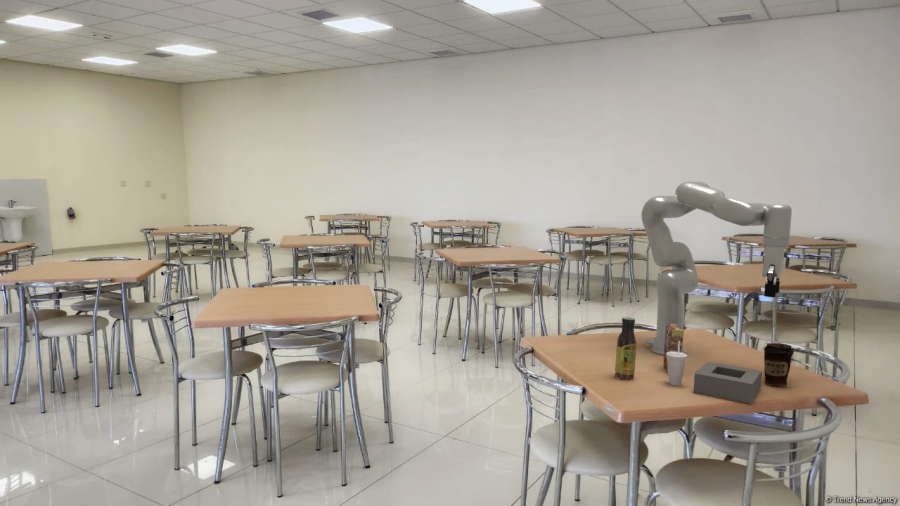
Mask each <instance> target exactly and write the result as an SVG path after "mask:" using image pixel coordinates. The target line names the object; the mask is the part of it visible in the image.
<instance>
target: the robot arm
mask: <svg viewBox="0 0 900 506" xmlns="http://www.w3.org/2000/svg"><path fill="white" fill-rule="evenodd" d="M792 209H793V208H792V207H791V206H790V205H787V204H766V203H762V202H747V203H746V202H742V201H738V200H734V199H732V198H730V197H729V198H728V197H726V194H725V193H724V191H722V190H719V189H717V188H713V187H711V186H710V185H709V184H707V183H706V182H702V181H684V182H682V183H680V184H679V185H678V186H677V187H676V189H675V195H657V196H653V197H651V198H649V199H648V200H647V201H646V202H645V203H644V204H643V207H642V210H641V222H642V226H643V228H644V231H645V233H646V237H647V241H648V243H649V245H648V246H649V248H650V252H651V255H652V258H653V262H654V263H655V265H656V266H658V267H659V268H671V269H670V270H665V271H662V273H660V274H659V275H658V277H657V279H656V280H655V281H656V283H655V285H656V286H655V287H656V293H657V294H656V295H657V315H656V316H657V317H656V334H655V335H656V336H655V338H651V337H645V339H644V342H645V343H646V344H648V345H652V346H651V347H650V348H651V349H650V350H651V352H653V353H654V354H657V355H660V356H661V355H662V356H664V345H665V331H666V324H675V325H678V326H679V327H680V328H681V329H683V330H684V323H685V321H684V319H685V301H684V298H683V296H682V295H684V294H690V293H693V292H694V291H695V290H697V288H698V286H699V276H698V272H697V268H696V265H695V262H694V258H693V255H692V252H691V250H690V248H689V247H688V245H686V244H685V243H683V242H680V241H674V240H673V237H672V233H671V230H670V228H669V226H668V225H667V223H666V222H665V219H675V218H676V219H677V218H680V217H683V216H685V215H687V214H689V213H691V212H693V211H695V210H699V211H703V212H705V213H709V214H711V215H713V216H714V217H716V218H718V219H720V220H722V221H725V222H728V223H731V224H734V225H737V226H741V227H751V226H753V227H755V226H756V227H757V226H758V227H759V226H763V234H762V247H763V248H765V251H764V256H763V264H762V265H763V266H762V273H761V277H762V278H765V277H766V278H765V279H766V280H765V284H764V295H763V296H764V297H766V298H767V297H768V298H776V295H777V294H779V293H780V283H781V281H780V279H781V278H780V277H781V276H782V273H783V269H784V268H783V266H784V258H785V249H789V248H790V237H791V236H790V234H791V225H792V224H791V223H792V211H793V210H792ZM682 353H684V354H686V355H687V350H686V349H685V348H683V347H682Z"/></svg>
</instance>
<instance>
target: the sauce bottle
mask: <svg viewBox="0 0 900 506" xmlns="http://www.w3.org/2000/svg"><path fill="white" fill-rule="evenodd" d="M621 323H622V325H621V326H622V327H621V332H620V333H619V335H618V336H617V342H616V343H617V344H616V352H615V354H616V355H615V366H614V371H615V373H614V376H615V377H616V378H618V379H621V380H632V379H634V377H635V371H636V362H637V361H636V359H637V358H636V357H637V347H638V346H637V344H638V343H637V341H636V340H637V339H636V336H635V324H636V318H635V317H628V316H626V317H622V318H621Z"/></svg>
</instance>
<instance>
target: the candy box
mask: <svg viewBox="0 0 900 506" xmlns="http://www.w3.org/2000/svg"><path fill="white" fill-rule="evenodd" d="M684 333H685V330H684V328H683V329H681V328H680V327H679V326H678V325H675V324H666V331H665V345H664V355H663V360H662V361H663V363H662V367H663V368H664V369H665V371H666V372H667V373H668V364H667V357H666V353H667V352H678V341H680V352H681V353H682V348H683V347H684V345H683V344H684Z"/></svg>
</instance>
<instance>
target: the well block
mask: <svg viewBox="0 0 900 506" xmlns="http://www.w3.org/2000/svg"><path fill="white" fill-rule="evenodd" d="M762 373H763V370H758V369H754V368H747V367H740V366H735V365H730V364H724V363H723V364H722V363H718V362H713V361H706V362H705V364H703V365H702V366H701V367H700V368H699V369H698V370H697V371H696V372H694V377H693V378H694V380H693V381H694V382H693V393H695V394H700V395H705V396H710V397H715V398H719V399H724V400H731V401H735V402H738V403H739V402H740V403H742V404H743V403H744V404H749V405H752V403H753V401H755V399H756V397H757V396H758V394H759V393H760V391H761V390H762Z"/></svg>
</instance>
